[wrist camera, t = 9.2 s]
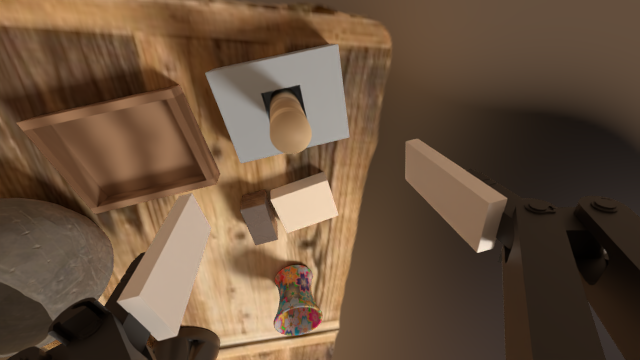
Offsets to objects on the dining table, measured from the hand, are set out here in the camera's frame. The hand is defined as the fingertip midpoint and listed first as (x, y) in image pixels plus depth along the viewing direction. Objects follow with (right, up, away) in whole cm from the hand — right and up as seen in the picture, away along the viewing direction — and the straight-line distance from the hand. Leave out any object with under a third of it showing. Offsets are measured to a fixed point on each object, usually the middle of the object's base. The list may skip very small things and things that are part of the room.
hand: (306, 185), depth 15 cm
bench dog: (-10, -5, +30) cm, 32 cm away
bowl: (-42, -8, +25) cm, 50 cm away
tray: (-26, +5, +21) cm, 33 cm away
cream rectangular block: (-2, -3, +30) cm, 31 cm away
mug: (-5, -22, +41) cm, 47 cm away
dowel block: (-5, +12, +21) cm, 25 cm away
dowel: (-4, +12, +20) cm, 24 cm away
